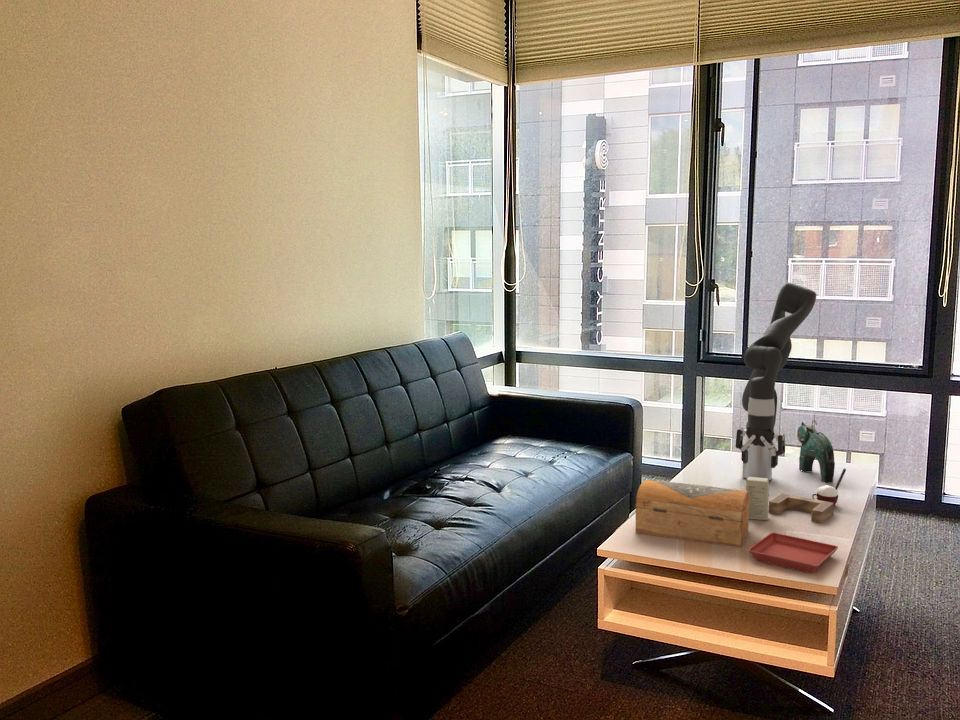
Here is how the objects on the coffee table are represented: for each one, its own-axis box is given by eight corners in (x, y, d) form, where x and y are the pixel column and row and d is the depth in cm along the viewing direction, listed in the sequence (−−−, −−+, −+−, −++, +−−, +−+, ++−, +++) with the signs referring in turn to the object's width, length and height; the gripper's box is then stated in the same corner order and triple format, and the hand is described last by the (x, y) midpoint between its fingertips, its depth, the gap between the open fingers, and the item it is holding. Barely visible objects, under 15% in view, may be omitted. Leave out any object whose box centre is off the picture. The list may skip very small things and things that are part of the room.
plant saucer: (771, 542, 229) (771, 531, 229) (838, 557, 218) (839, 545, 217) (746, 561, 215) (746, 549, 215) (817, 578, 204) (817, 566, 203)
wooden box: (750, 530, 238) (752, 484, 236) (741, 549, 223) (743, 500, 222) (649, 516, 251) (649, 473, 249) (634, 533, 237) (635, 487, 235)
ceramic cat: (793, 468, 303) (796, 415, 300) (810, 468, 304) (812, 415, 301) (821, 483, 283) (824, 427, 281) (839, 483, 284) (842, 426, 281)
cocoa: (811, 506, 260) (810, 470, 259) (815, 500, 266) (815, 464, 264) (843, 510, 255) (843, 473, 253) (847, 504, 260) (847, 467, 258)
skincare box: (768, 516, 250) (770, 478, 248) (767, 521, 246) (768, 481, 244) (746, 514, 252) (748, 475, 251) (744, 518, 248) (746, 479, 247)
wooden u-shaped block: (768, 512, 254) (768, 501, 253) (781, 503, 262) (781, 493, 261) (821, 523, 243) (822, 511, 243) (833, 513, 252) (833, 502, 251)
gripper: (733, 411, 246) (731, 464, 248) (780, 417, 237) (778, 471, 239) (743, 407, 252) (741, 459, 254) (789, 413, 243) (787, 466, 245)
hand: (759, 465), depth 247 cm, fingers open, 8 cm apart
